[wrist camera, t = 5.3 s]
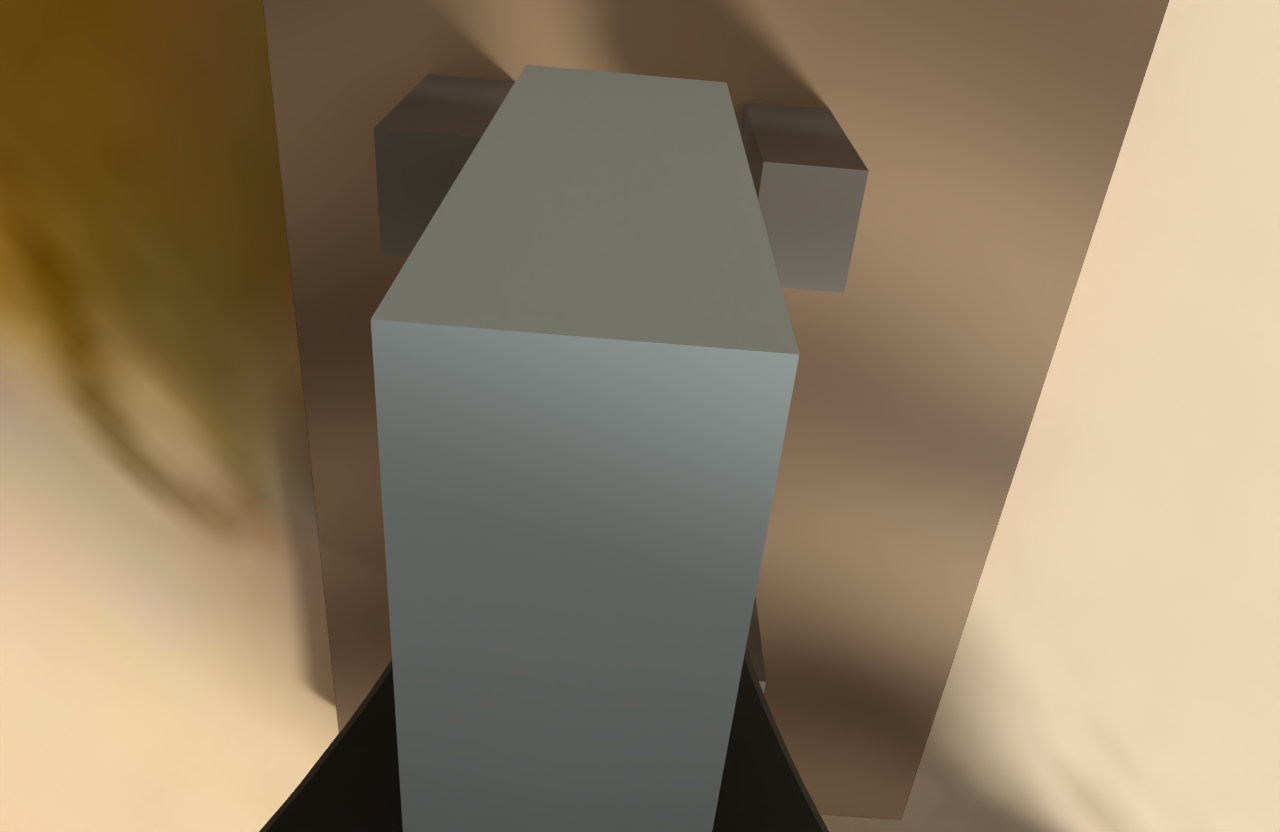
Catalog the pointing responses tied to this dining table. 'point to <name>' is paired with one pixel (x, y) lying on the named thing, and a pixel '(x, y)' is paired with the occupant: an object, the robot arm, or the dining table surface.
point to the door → (580, 460)
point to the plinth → (810, 280)
